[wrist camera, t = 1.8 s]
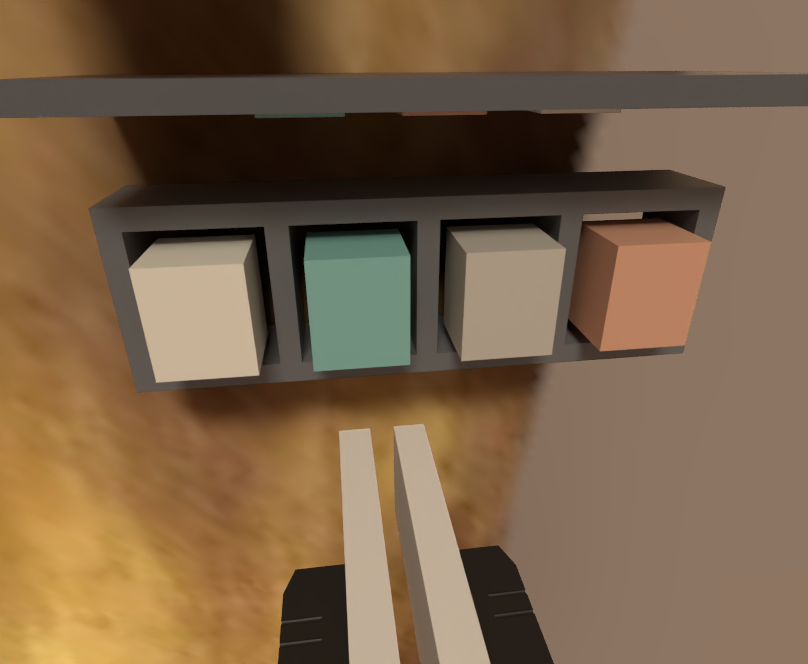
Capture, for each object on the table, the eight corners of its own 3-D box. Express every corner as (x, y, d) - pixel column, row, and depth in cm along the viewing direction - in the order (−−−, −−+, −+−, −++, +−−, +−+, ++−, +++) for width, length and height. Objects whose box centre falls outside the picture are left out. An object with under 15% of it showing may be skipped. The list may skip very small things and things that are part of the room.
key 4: (565, 315, 28) (599, 351, 25) (578, 221, 26) (618, 246, 23) (640, 310, 29) (684, 345, 25) (659, 218, 27) (711, 241, 23)
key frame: (163, 347, 29) (137, 392, 25) (125, 185, 25) (88, 208, 21) (638, 317, 32) (682, 353, 28) (669, 169, 28) (725, 187, 25)
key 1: (179, 339, 26) (156, 382, 22) (157, 238, 24) (128, 268, 20) (267, 333, 27) (259, 375, 23) (254, 234, 24) (243, 263, 21)
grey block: (443, 323, 28) (461, 361, 24) (446, 226, 25) (466, 253, 22) (522, 318, 28) (551, 354, 25) (532, 223, 26) (566, 248, 22)
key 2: (315, 330, 27) (313, 371, 23) (306, 232, 25) (303, 260, 21) (398, 325, 27) (410, 364, 24) (397, 228, 25) (410, 255, 22)
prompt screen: (107, 106, 24) (-2, 127, 16) (100, 74, 23) (-17, 79, 15) (683, 98, 27) (836, 113, 19) (689, 71, 26) (848, 73, 18)
